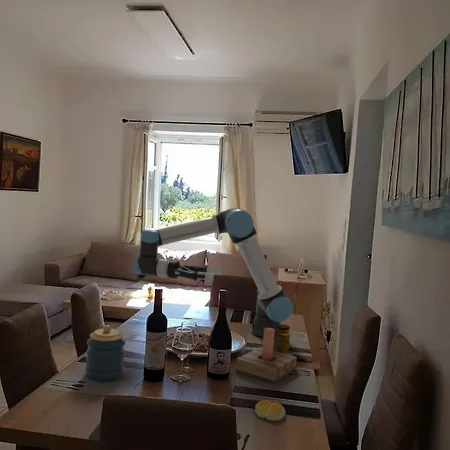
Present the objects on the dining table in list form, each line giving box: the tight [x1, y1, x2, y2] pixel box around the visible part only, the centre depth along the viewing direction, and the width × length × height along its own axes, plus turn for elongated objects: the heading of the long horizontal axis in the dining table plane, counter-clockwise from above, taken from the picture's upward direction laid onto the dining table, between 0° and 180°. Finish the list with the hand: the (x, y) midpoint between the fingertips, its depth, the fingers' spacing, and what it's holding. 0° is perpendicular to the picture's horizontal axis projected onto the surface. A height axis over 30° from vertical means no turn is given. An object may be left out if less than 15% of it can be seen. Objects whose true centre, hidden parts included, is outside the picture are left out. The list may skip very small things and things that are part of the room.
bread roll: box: [254, 399, 286, 422], centre depth 143 cm, size 8×9×4 cm
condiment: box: [273, 324, 293, 356], centre depth 198 cm, size 7×8×12 cm
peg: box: [262, 328, 275, 362], centre depth 178 cm, size 4×4×15 cm
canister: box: [84, 324, 127, 383], centre depth 163 cm, size 13×13×18 cm
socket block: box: [235, 346, 298, 384], centre depth 178 cm, size 18×16×5 cm
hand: (217, 274), depth 195 cm, fingers open, 13 cm apart
